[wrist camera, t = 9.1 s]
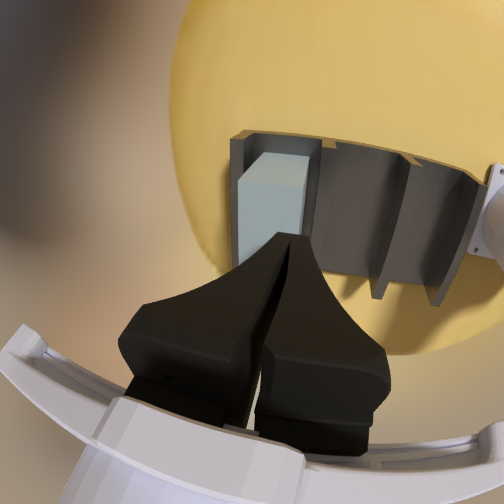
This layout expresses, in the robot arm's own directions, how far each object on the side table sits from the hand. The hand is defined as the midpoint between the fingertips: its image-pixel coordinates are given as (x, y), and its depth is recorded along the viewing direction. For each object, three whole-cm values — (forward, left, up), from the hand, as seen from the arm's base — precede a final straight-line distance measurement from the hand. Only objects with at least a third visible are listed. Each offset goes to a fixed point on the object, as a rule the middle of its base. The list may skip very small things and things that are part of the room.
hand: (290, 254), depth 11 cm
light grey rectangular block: (+1, +1, -8) cm, 9 cm away
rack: (-4, +2, -9) cm, 10 cm away
